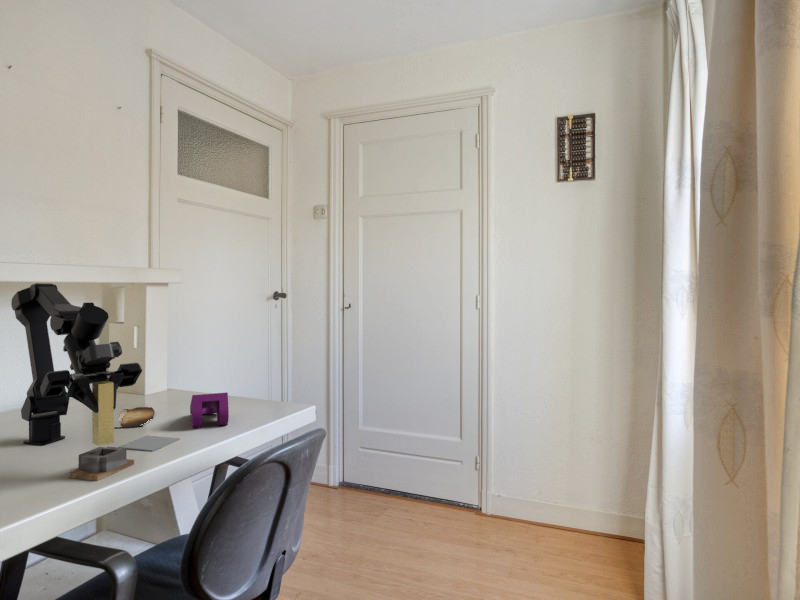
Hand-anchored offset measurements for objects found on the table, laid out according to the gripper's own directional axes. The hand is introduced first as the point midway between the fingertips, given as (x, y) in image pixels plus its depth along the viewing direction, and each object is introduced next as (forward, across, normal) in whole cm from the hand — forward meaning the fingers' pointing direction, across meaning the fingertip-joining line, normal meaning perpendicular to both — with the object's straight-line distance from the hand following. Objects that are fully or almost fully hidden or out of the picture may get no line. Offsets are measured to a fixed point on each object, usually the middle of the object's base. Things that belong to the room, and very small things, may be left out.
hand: (105, 410), depth 106 cm
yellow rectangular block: (+4, 0, +6) cm, 7 cm away
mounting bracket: (-5, +37, +24) cm, 45 cm away
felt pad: (+1, +16, +18) cm, 24 cm away
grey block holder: (+8, 0, +10) cm, 13 cm away
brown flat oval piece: (-19, +26, +39) cm, 50 cm away
